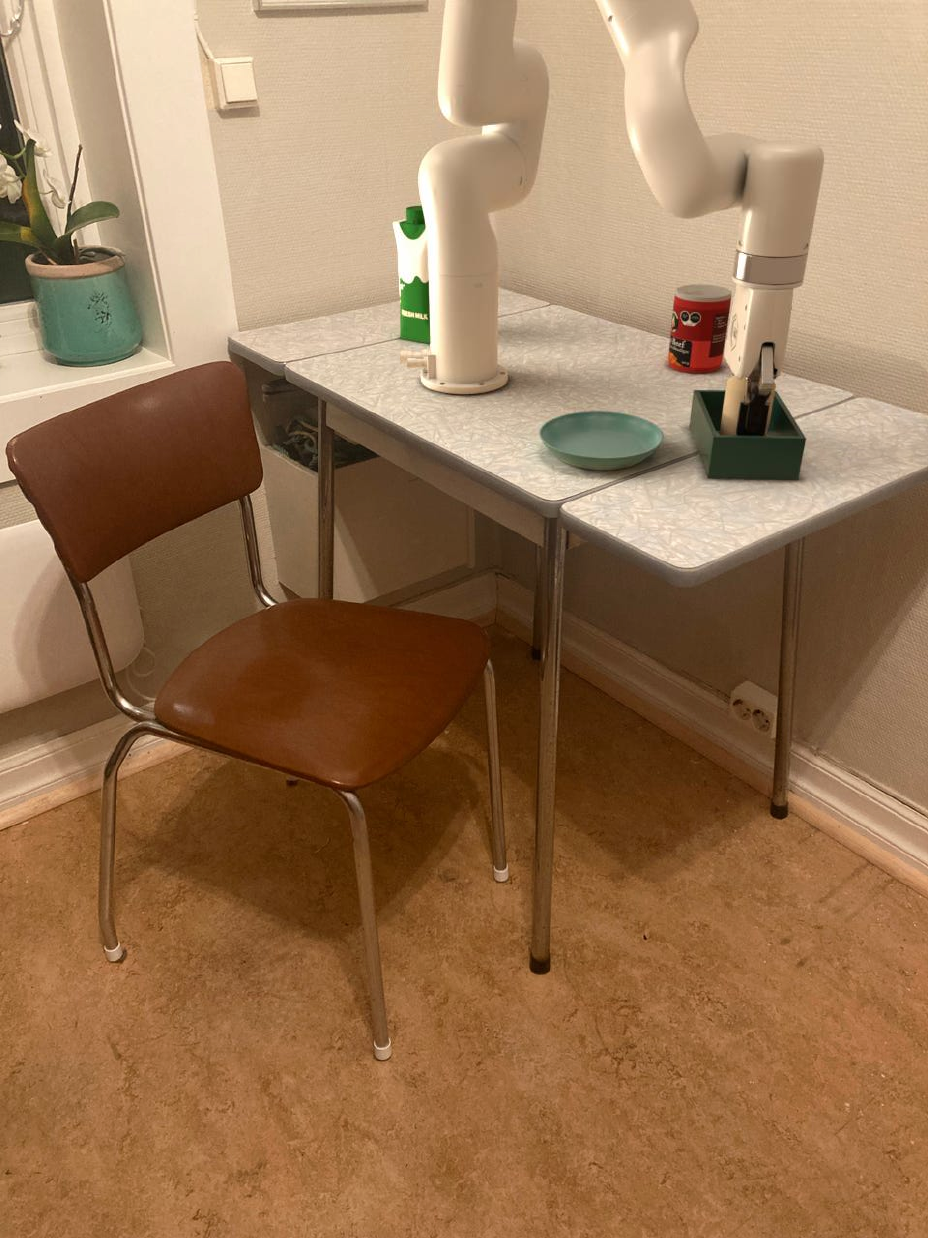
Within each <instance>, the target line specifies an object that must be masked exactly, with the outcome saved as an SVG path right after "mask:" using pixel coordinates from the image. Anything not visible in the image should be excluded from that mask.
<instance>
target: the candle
mask: <svg viewBox="0 0 928 1238" xmlns="http://www.w3.org/2000/svg"><path fill="white" fill-rule="evenodd" d="M732 375H733V374H732ZM751 376H759V371H752V373H751ZM754 386H758V382H752V387H751V391H752V389H753V388H754ZM744 388H745V377H743V378H742V379H738V378H737V377H736V376H735V375H733V376H731V377H729V378H728V379H727V381H726V386H725V390H726V392H725V399H724V406H723V413H722V421H721V428H720V430H719V435H728V436H737V435H736V428H737V421H738V414H739V408H740V402H744ZM776 388H777V384H776V382H775V381H774V380H773V388H772V391H771V398H770V405H769V411H768V417H767V423H766V429H765V435H764V436H769V434H768V429H769V424H770V418H771V412H772V406H773V400H774V394H775V391H776Z"/></svg>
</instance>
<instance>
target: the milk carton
mask: <svg viewBox="0 0 928 1238" xmlns="http://www.w3.org/2000/svg"><path fill="white" fill-rule="evenodd" d="M392 227H393V231H394V237H395V242H396V246H397V261H398V263H397V264H398V283H399V284H398V286H399V308H400V309H399V318H400V319H399V321H400V322H399V323H400V324H399V325H400V326H399V327H400V331H399V332H400V337H399V339H403V340H407V341H412V342H419V343H422V344H423V343H424V344H429V345H430V344H431V333H430V297H429V269H428V245H427V232H426V224H425V218H424V213H423V208H422V205H412V206H407V207H405V218H403V219H400V220H395V221H393V222H392Z"/></svg>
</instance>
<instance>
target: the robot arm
mask: <svg viewBox="0 0 928 1238" xmlns="http://www.w3.org/2000/svg"><path fill="white" fill-rule="evenodd" d="M595 3H596V6H597V8H598V10H599V12H600V14H601V17H602V19H603V22H604V24H605V26H606V28H607V30H608V33H609V35H610V38H611V39H612V42H613V44H614V47H615V49H616V52H617V54H618V56H619V58H620V61H621V64H622V66H623V68H624V73H625V74H624V86H623V87H624V88H623V99H624V115H625V125H626V130H627V131H626V132H627V136H628V139H629V142H630V146H631V149H632V152H633V154H634V156H635V158H636V161H637V163H638V165H639V167H640V170H641V173H642V175H643V178H644V179H645V181H646V184H647V185H648V187H649V189H650V191H651V193H652V194H653V197H654V198H655V200H657V202H658V204H659V205H660V206H661V207H662V208H663V209H664V210H665V211H666V212H667V213H669V214H670V215H672V216H674V217H676V218H680V219H688V220H690V219H691V220H692V219H696V218H700V217H705V216H706V215H710V214H713V213H716V212H721V211H725V210H729V209H734V208H739V207H741V210H740V219H739V227H738V233H737V242H736V247H735V248H736V249H735V255H734V263H733V269H732V276H731V277H732V278H731V281H732V283H734V284H735V285H736V287H735V291H734V295H733V299H732V303H731V309H730V314H729V320H728V325H727V332H726V339H725V346H724V353H723V357H724V359H725V361H726V363H727V365H728V367H729V369H730V370H731V372H732V376H733V375H735V376H736V377H737V378H738V379H742V378H743V377H745V388H744V402H740V408H739V414H738V421H737V428H736V435H737V436H764V435H765V429H766V423H767V417H768V411H769V405H770V398H771V391H772V388H773V381H774V380H776V379H778V378H779V377H780V376H781V374H782V370H783V368H784V367H783V366H784V362H785V357H786V350H787V345H788V339H789V331H790V325H791V324H790V323H791V316H792V310H793V299H794V298H793V297H794V289H796V288H800V287H802V286H803V284H804V279H805V274H806V268H807V264H808V263H807V262H808V257H809V252H810V245H811V239H812V234H813V228H814V222H815V216H816V211H817V210H816V209H817V205H818V200H819V194H820V190H821V189H820V188H821V183H822V177H823V171H824V164H825V153H824V150H823V149H822V147H821V146H820V145H818V144H817V143H814V142H810V141H803V140H788V139H787V140H782V139H781V140H767V139H763V138H758V137H754V136H751V135H746V134H743V133H737V132H736V133H735V132H729V133H728V132H725V133H720V134H714V135H708V136H703V133H702V130H701V128H700V126H699V124H698V122H697V119H696V116H695V114H694V112H693V110H692V107H691V104H690V99H689V97H688V93H687V88H686V81H685V79H686V78H685V70H686V62H687V58H688V56H689V53H690V50H691V48H692V46H693V44H694V42H695V41H696V39H697V38H698V35H699V31H700V22H699V21H700V20H699V18H698V14H697V13H696V10H695V9H694V6H693V4H692V2H691V0H595ZM444 5H445V6H444V12H443V19H442V20H443V21H442V31H441V43H440V55H439V65H438V67H439V68H438V77H437V101H438V105H439V109H440V111H441V113H442V115H443V117H444V118H445V119H446V120H447V121H448V122H449V123H451V124H453V125H455V126H458V127H461V128H480V127H482V131H481V134H471V135H466V136H465V135H464V136H458V137H453V138H449V139H446V140H443V141H441V142H439V143H437V144H436V145H434V146H433V147H432V148H430V149H429V150H428V152H426V154H425V155H424V157H423V159H422V160H421V163H420V165H419V168H418V169H419V170H418V175H417V184H418V193H419V198H420V199H419V200H420V203H421V206H422V208H423V213H424V218H425V224H426V232H427V245H428V269H429V297H430V333H431V344H429V347H428V348H423V349H422V351H414V350H401V351H400V355H399V356H400V358H399V359H400V360H399V361H400V365H406V368H407V369H422V370H421V372H420V382H421V384H422V385H423V386H424V387H426V388H428V389H430V390H432V391H435V392H439V393H444V394H450V395H451V394H452V395H473V394H483V393H488V392H491V391H495V390H498V389H500V388H502V387H503V386H505V385H506V384H507V383H508V381H509V371H508V369H506V368H505V367H503V366H502V365H500V364H498V360H499V359H498V354H499V352H498V346H499V345H498V344H499V340H498V339H499V337H498V336H499V330H498V329H499V249H498V242H497V239H496V235H495V232H494V230H493V227H492V224H491V221H490V218H489V214H490V213H494V212H498V211H502V210H506V209H510V208H513V207H515V206H517V205H519V204H521V203H522V202H523V201H525V199H526V198H527V197H528V196H530V195H529V194H530V193H531V192H532V189H533V187H534V184H535V182H536V179H537V174H538V171H539V163H540V157H541V153H542V146H543V145H542V144H543V138H544V131H545V126H546V119H547V111H548V106H549V99H550V98H549V97H550V78H549V71H548V68H547V65H546V60H545V59H544V57H543V55H542V53H541V52H540V50H539V48H537V46H535V45H534V44H533V43H531V42H530V41H528V40H526V39H524V38H519V37H514V36H515V25H516V19H517V13H518V0H445V4H444ZM752 371H759V376H751V373H752ZM732 376H731V377H732ZM752 382H758V386H754V388H753V389H752V391H751V387H752Z"/></svg>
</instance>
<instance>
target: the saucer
mask: <svg viewBox="0 0 928 1238" xmlns="http://www.w3.org/2000/svg"><path fill="white" fill-rule="evenodd" d="M538 435H539V438H540V440H541V441H542V444H544V446H545V447H546V448H547V450H549V451H550V452H551V453H552V455H554V457H556V458H558V459H559V460H560V461H562V462H563V463H564V464H567V465H570V466H572V467H576V468H579V469H583V470H591V471H614V470H615V471H616V470H622V469H623V470H624V469H627V468H630V467H634V466H636V465H638V464H639V463H641V462H643V461H644V460H645V459H647V458H648V457H650V456H651V454H653V453H654V452H655V451H656V450H657V449H658V448H659V447H660V445H661V444H662V443H663V441H664V432H663V431H662V429H661V428H660V427H659V426H658V425H656V424H655V423H654V422H652V421H649V420H647V419H645V418H643V417H640V416H637V415H634V414H630V413H625V412H619V411H610V410H609V411H608V410H607V411H606V410H584V411H575V412H569V413H564V414H562V415H558V416H556V417H552V418H551V419H549V420H548V421H546V422H544V423H543V424H542V425H541V427H540V429H539V431H538Z"/></svg>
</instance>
